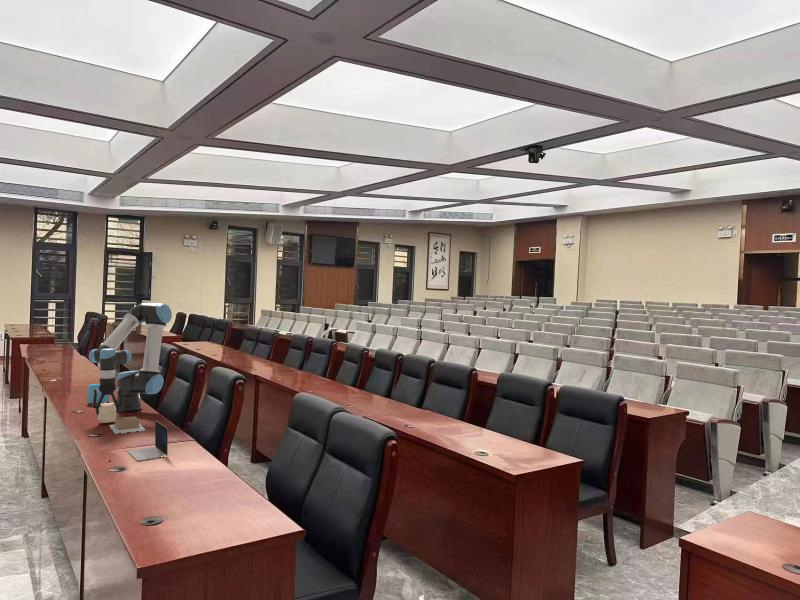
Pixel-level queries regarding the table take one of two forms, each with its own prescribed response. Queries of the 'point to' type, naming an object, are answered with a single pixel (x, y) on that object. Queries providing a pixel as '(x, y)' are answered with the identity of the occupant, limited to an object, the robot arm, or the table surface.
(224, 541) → the table surface
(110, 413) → the maple block
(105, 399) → the data package
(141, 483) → the table surface
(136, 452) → the laptop
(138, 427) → the white tray
